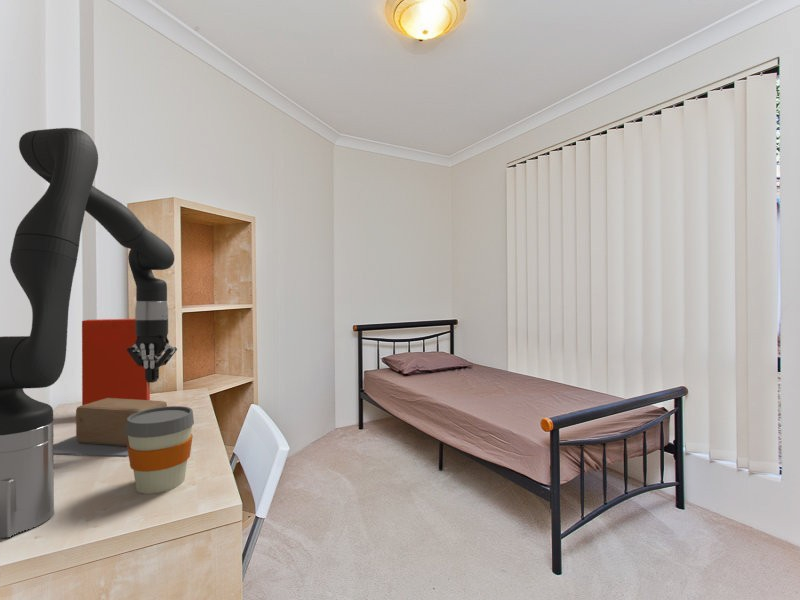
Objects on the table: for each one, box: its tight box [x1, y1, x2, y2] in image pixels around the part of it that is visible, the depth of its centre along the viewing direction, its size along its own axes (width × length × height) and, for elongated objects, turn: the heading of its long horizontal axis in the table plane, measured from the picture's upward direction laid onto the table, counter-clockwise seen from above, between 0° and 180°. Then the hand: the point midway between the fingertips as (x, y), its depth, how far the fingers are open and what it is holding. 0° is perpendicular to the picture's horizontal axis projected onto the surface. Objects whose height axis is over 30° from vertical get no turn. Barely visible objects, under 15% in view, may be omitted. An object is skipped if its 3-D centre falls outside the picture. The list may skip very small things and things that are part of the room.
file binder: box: [81, 318, 151, 406], centre depth 131 cm, size 8×17×32 cm, turn 116°
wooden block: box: [75, 398, 168, 446], centre depth 108 cm, size 10×10×20 cm
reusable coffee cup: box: [126, 405, 195, 495], centre depth 84 cm, size 13×13×15 cm
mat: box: [53, 435, 129, 457], centre depth 106 cm, size 16×24×1 cm, turn 87°
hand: (152, 381), depth 105 cm, fingers closed
